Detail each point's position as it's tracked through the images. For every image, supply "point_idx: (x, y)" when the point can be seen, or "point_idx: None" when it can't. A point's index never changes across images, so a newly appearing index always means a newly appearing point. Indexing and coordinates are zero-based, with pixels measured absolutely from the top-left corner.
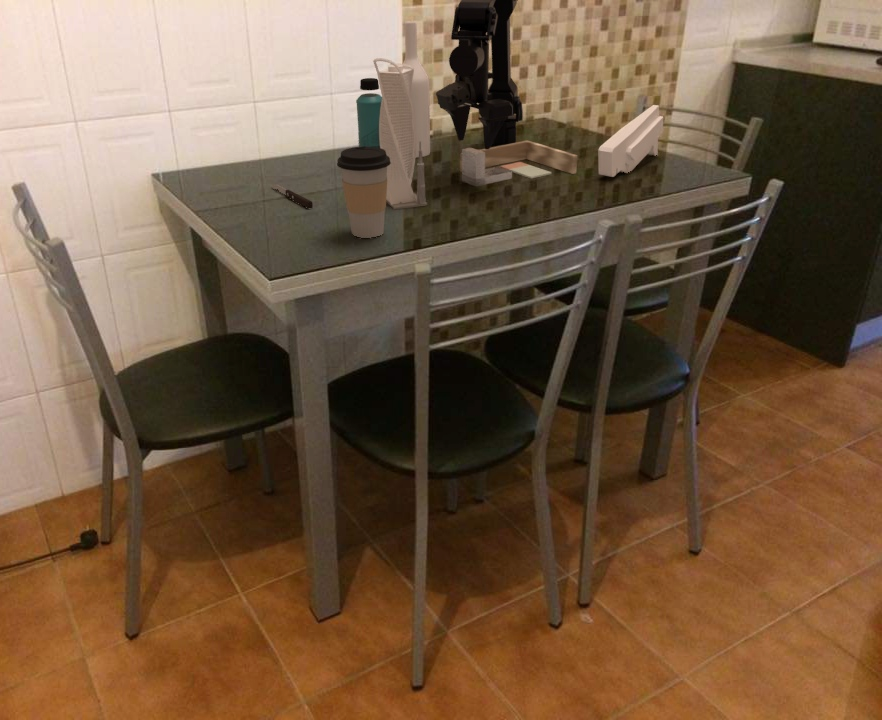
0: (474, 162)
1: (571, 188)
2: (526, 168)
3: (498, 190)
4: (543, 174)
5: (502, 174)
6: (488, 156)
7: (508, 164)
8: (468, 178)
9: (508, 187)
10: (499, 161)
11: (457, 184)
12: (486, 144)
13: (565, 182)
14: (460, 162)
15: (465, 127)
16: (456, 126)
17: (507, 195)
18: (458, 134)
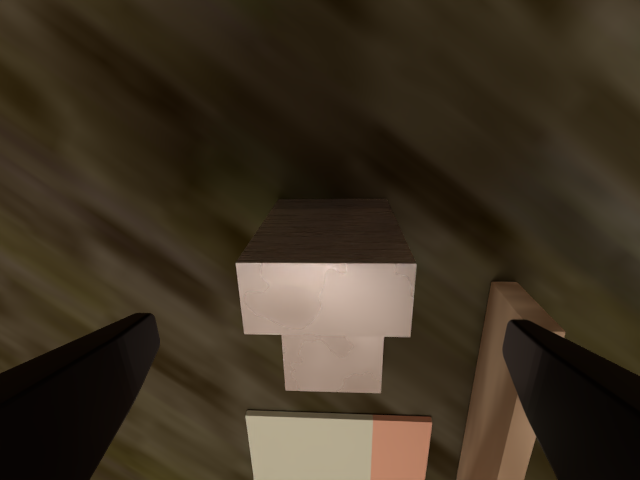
0: (270, 238)
1: None
2: (341, 461)
3: (179, 240)
4: (251, 456)
5: (283, 346)
6: (487, 432)
7: (424, 451)
8: (333, 205)
9: (196, 294)
10: (467, 448)
11: (355, 147)
12: (99, 334)
13: (157, 453)
14: (532, 304)
15: (561, 471)
16: (627, 399)
17: (103, 228)
18: (542, 344)
